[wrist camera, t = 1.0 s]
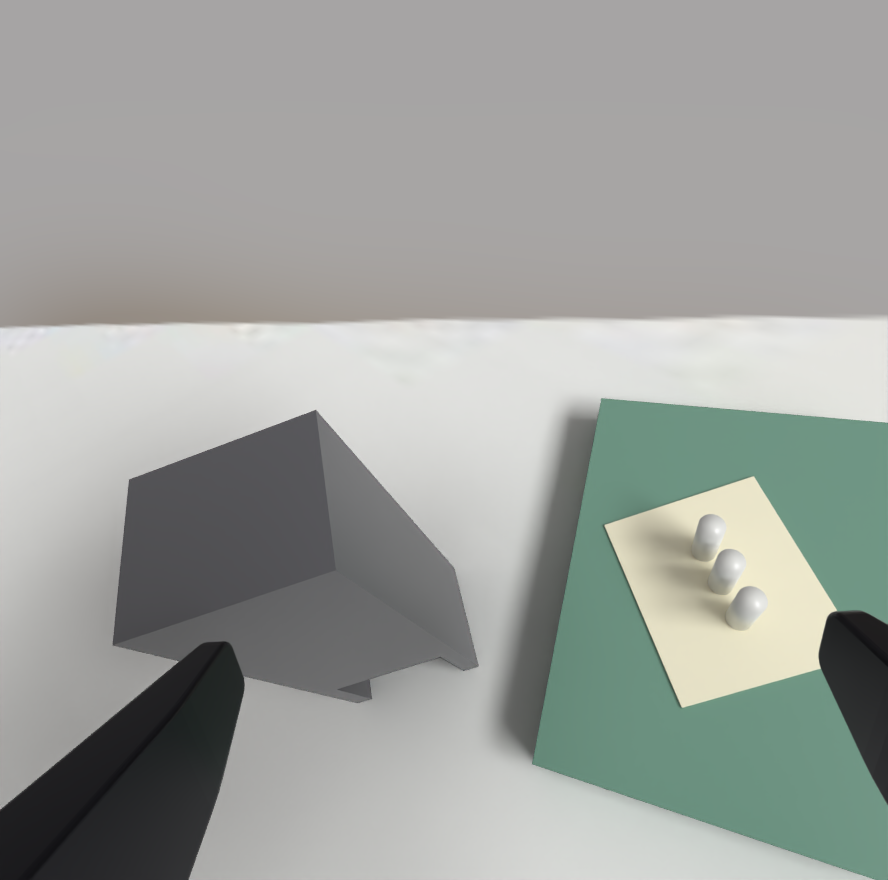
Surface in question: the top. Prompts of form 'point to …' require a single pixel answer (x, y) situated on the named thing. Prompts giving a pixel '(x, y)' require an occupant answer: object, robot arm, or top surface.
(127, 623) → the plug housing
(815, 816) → the board
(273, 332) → the top surface
